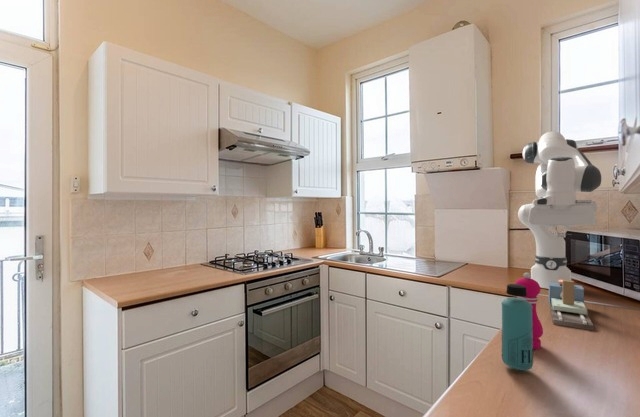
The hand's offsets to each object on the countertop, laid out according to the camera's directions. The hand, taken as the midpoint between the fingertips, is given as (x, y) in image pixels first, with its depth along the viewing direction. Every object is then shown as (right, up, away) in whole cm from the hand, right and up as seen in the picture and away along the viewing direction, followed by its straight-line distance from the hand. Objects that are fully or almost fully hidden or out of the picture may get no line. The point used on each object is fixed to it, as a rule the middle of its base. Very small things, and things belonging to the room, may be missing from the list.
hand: (560, 237), depth 120 cm
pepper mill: (-33, -27, -31) cm, 53 cm away
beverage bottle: (-44, -28, -45) cm, 68 cm away
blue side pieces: (+2, -26, 0) cm, 26 cm away
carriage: (-4, -24, -8) cm, 26 cm away
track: (-5, -27, -11) cm, 29 cm away
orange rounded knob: (+2, -21, 0) cm, 21 cm away
